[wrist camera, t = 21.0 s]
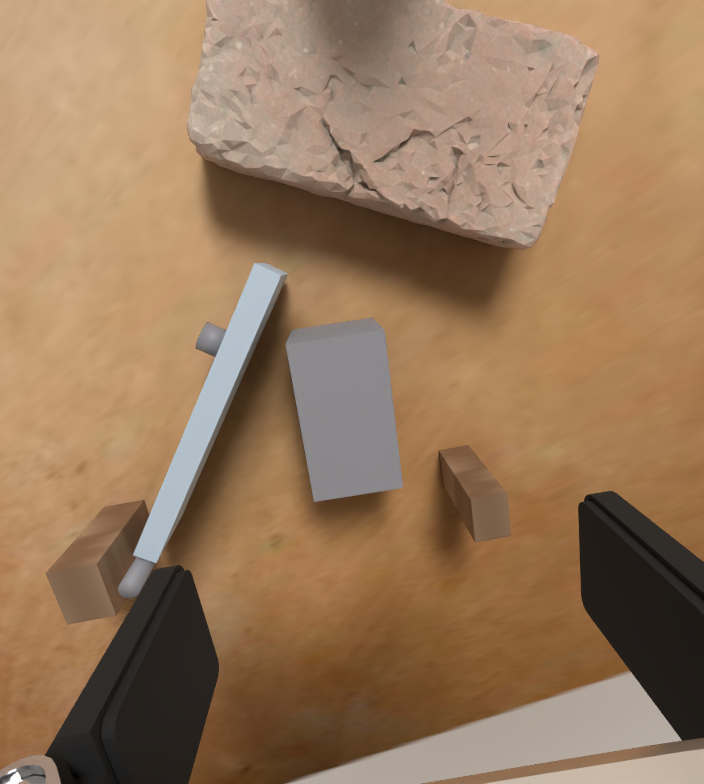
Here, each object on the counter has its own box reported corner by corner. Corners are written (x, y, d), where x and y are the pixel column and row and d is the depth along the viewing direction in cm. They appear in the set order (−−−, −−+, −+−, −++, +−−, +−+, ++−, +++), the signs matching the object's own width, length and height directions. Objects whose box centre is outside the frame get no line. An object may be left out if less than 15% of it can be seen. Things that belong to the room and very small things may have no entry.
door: (175, 531, 27) (137, 602, 22) (137, 517, 27) (87, 585, 21) (288, 273, 24) (278, 276, 18) (245, 252, 23) (221, 248, 18)
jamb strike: (468, 445, 28) (507, 493, 22) (471, 480, 28) (510, 536, 22) (439, 450, 28) (471, 500, 22) (443, 485, 28) (475, 542, 22)
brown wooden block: (143, 499, 27) (96, 564, 21) (158, 542, 28) (116, 615, 22) (103, 507, 27) (45, 573, 21) (119, 550, 28) (67, 624, 22)
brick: (200, 167, 23) (171, 144, 18) (231, -27, 21) (207, -108, 16) (502, 254, 25) (543, 252, 21) (557, 87, 23) (616, 45, 18)
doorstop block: (372, 317, 25) (384, 330, 20) (388, 448, 27) (403, 487, 23) (292, 329, 25) (285, 344, 20) (315, 460, 27) (314, 501, 23)
